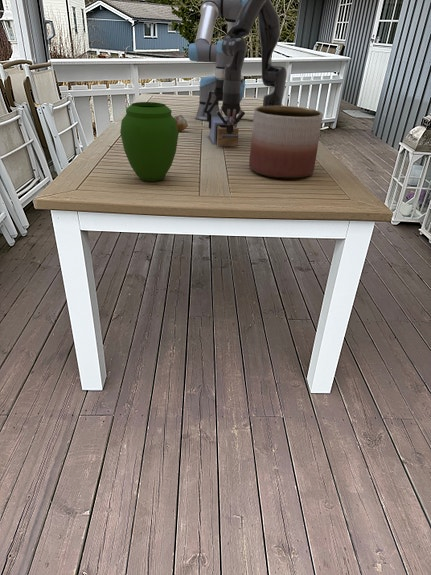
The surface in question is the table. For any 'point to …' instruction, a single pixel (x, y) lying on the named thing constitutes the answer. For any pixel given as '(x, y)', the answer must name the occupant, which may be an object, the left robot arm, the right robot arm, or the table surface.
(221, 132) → the drawer
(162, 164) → the vase
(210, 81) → the left robot arm
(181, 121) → the seashell
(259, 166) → the planter
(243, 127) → the table surface
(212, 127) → the cabinet
